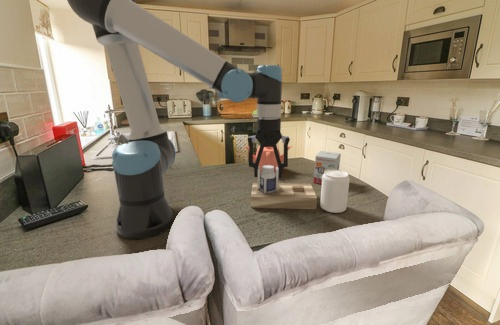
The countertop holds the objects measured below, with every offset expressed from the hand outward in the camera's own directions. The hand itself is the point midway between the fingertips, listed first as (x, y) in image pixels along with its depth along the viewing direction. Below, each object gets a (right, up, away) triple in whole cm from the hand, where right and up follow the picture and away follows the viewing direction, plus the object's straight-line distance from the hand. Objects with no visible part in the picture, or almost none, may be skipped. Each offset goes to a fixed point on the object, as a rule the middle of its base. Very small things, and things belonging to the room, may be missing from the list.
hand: (267, 186), depth 87 cm
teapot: (+2, +4, +32) cm, 32 cm away
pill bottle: (0, -3, +1) cm, 3 cm away
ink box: (+25, 0, +18) cm, 31 cm away
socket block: (+5, -5, +1) cm, 7 cm away
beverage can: (+21, -7, -5) cm, 22 cm away
